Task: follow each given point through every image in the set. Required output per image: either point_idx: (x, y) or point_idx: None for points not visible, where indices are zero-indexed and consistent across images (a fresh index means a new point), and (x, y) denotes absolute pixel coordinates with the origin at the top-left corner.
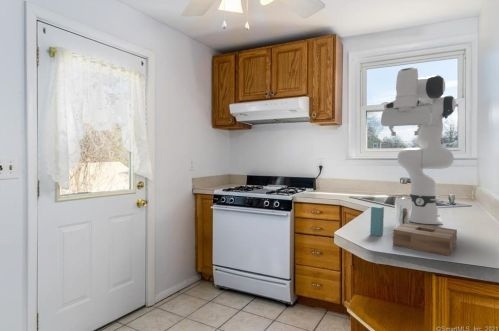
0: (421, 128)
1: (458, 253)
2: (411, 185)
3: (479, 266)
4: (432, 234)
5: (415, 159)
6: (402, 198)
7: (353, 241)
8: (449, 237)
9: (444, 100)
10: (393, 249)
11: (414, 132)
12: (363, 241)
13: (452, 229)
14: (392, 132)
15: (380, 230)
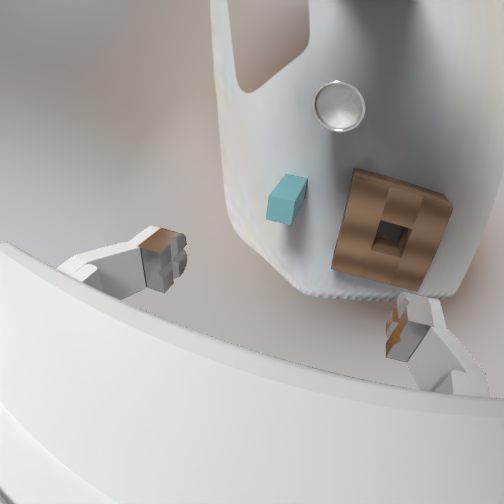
0: (474, 362)
1: None
2: None
3: None
4: (396, 276)
5: None
6: (332, 83)
7: (270, 261)
8: (419, 283)
9: None
10: (335, 277)
11: (386, 344)
12: (284, 253)
13: (445, 208)
14: (147, 281)
15: (302, 199)
